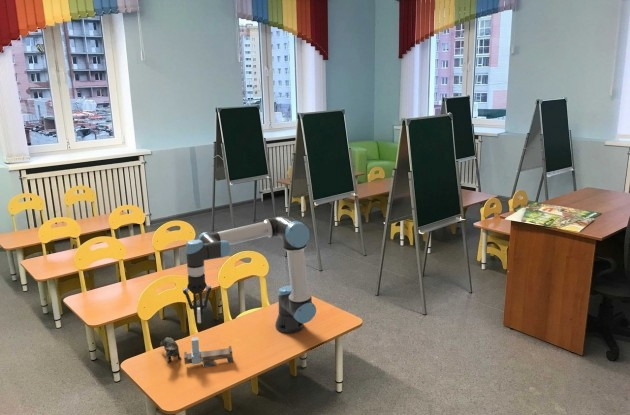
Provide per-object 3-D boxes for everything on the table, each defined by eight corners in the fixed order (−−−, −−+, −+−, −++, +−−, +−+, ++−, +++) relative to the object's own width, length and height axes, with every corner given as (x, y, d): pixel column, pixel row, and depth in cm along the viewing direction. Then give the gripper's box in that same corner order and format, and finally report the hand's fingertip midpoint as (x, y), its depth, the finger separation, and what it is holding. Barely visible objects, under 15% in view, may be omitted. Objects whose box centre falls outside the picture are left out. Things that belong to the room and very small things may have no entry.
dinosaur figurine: (160, 348, 250) (158, 328, 248) (177, 345, 254) (175, 325, 251) (165, 371, 231) (164, 349, 228) (184, 367, 234) (182, 346, 231)
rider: (200, 354, 239) (198, 334, 236) (200, 363, 232) (199, 342, 229) (191, 355, 238) (190, 335, 235) (192, 364, 231) (190, 343, 228)
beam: (231, 357, 243) (231, 345, 241) (233, 363, 238) (232, 351, 236) (184, 364, 237) (184, 351, 235) (185, 370, 232) (184, 357, 231)
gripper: (210, 269, 230) (212, 316, 236) (181, 272, 227) (184, 319, 233) (211, 275, 223) (214, 323, 229) (181, 278, 220) (184, 327, 226)
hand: (199, 321), depth 231 cm, fingers closed
